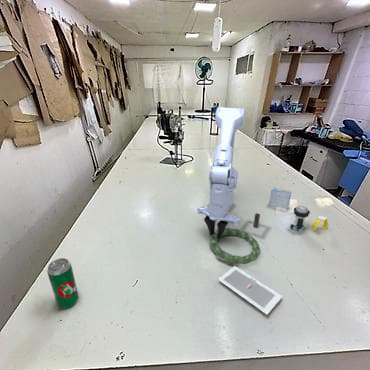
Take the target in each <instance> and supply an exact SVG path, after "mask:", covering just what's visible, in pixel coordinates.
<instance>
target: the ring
mask: <svg viewBox="0 0 370 370" xmlns="http://www.w3.org/2000/svg"><path fill="white" fill-rule="evenodd" d="M227 235H228V236H236V237H238V238H241V239H242V240H245V241H246V242H247V243H248V244H249V245H250V246H251V249H252V250H251V252H250V253H249V254H247V255H243V256H242V255H233V254H230V253H228V252H226V251H225V250H223V249H222V248H221V246H219V245H218V240H219V239H218V229H215V232H214V233H213V234H212V235H211V236H209V247H210V249H211V250H212V252H213V253H214V254H215V255H216V257H217V258H219V259H221V260H223V261H225V262H227V263H229V264H233V265H234V264H235V265H246V264H249V263H251V262H252V263H253V262H254V261H256V260H257V259H258V258H259V256H260V255H261V248H260V245H259V242H258V241H257V239H255V238H254V237H253V236H252V234H250V233H248V232H246V231H244V230H242V229H239V228H232V227H231V228H230V227H226V228H225V229H224V232H223V235H222V237H223V236H227Z"/></svg>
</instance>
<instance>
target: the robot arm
mask: <svg viewBox="0 0 370 370" xmlns="http://www.w3.org/2000/svg"><path fill="white" fill-rule="evenodd" d="M214 120H215V121H214V123H215V125H216V127H217V128H218V129H220V138H219V145H217V146H216V147H215V149H214V156H213V161H212V166H210V167H209V173H208V182H209V204H208V205H209V206H208V207H207V206H201V205H200V206H198V207H197V208H196V214H199V215H200V214H202V215H205V217H204V218H203V222H204V223H205V224H206V227H207V229H208V233H209V237H211V235H212V234H213V233H214V232H215V231H216V226H217V230H218V239H217V240H220V239H221V238H223V236H222V235H223V232H224V229H225V228H227V226H228V224H229V223H230V224H232V225H233V226H235V227H238V225H239V224H240V217H238V216H235V215H233V214H231V213H229V212H227V210H228V208H231V207H232V205H233V198H234V197H233V196H234V190H236V189H237V187H238V179H239V178H238V177H239V176H238V175H239V172H238V170H236V169H235V168H234V167H233V161H234V160H233V159H234V149H235V148H234V147H235V138H236V137H235V136H236V132H237V130H241V129H242V128H243V127H244V126H243V125H244V120H245V109H244V107H241V108H238V107H220V106H219V107H217V108H216V110H215V117H214ZM216 221H218V222H217V223H216Z"/></svg>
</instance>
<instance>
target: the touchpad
mask: <svg viewBox="0 0 370 370" xmlns="http://www.w3.org/2000/svg"><path fill="white" fill-rule="evenodd" d="M217 280H218V281H219V282H221V283H222V284H224V285H225V286H226V287H228V288H229V289H230V290H232V291H233V292H234V293H236V294H237V295H239V296H240V297H241V298H243V299H244V300H246V302H248V303H250V304H251V305H253V306H254V307H255V308H257V309H258V310H259V311H261V312H263V313H264V314H265V315H269V313H270V312H271V311H272V310H273V308H274V307H275V306H276V305H277V304H278V303H279V301H281V299H283V295H282V294H280V293H279V292H277V291H276V290H274V289H272V288H270V287H269V286H267V285H266V284H264V283H263V282H261V281H260V280H258V279H256V278H255V277H253V276H252V275H250V274H249V273H246V272H245V271H243V270H242V269H240V268H238V267H237V266H236V265H234V266H233V267H231V268H230V269H229V270H227V271H226V272H225V273H223V275H221V276H220V277H219V278H218V279H217Z"/></svg>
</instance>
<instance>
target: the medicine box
mask: <svg viewBox="0 0 370 370" xmlns="http://www.w3.org/2000/svg"><path fill="white" fill-rule="evenodd" d="M291 196H292V190H290V189H287V188H282V187H276V186H272V188H271V190H270V195H269V201H268V206H271V207H275V208H279V209H282V210H288V209H289V206H290V202H291V198H292V197H291Z"/></svg>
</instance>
